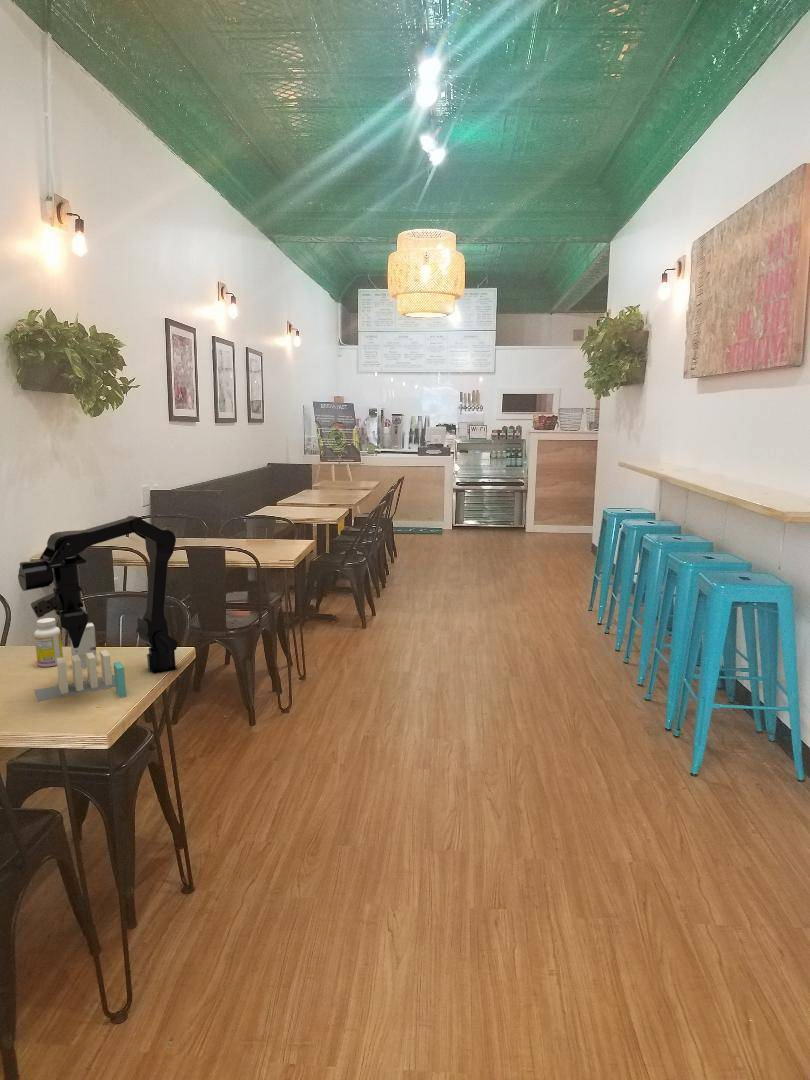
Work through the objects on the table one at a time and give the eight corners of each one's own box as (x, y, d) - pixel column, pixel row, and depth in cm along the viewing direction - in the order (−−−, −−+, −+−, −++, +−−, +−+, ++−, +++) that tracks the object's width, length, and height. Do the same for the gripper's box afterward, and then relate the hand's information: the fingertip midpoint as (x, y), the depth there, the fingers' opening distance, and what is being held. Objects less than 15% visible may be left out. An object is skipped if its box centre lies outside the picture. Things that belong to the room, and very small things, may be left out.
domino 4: (108, 678, 192) (106, 650, 191) (112, 684, 188) (110, 655, 187) (102, 679, 191) (100, 651, 190) (105, 685, 187) (103, 656, 186)
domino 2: (80, 683, 189) (77, 654, 187) (83, 690, 184) (80, 660, 183) (73, 685, 188) (71, 655, 186) (76, 691, 184) (74, 661, 182)
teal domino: (122, 691, 185) (120, 661, 183) (126, 697, 180) (124, 667, 179) (115, 692, 184) (113, 662, 182) (119, 699, 180) (117, 668, 178)
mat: (116, 676, 195) (116, 674, 195) (122, 686, 188) (122, 685, 187) (33, 691, 185) (33, 689, 185) (37, 703, 177) (37, 701, 177)
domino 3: (94, 681, 190) (92, 652, 189) (98, 687, 186) (95, 657, 185) (88, 682, 190) (85, 653, 188) (91, 688, 185) (88, 658, 184)
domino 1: (65, 686, 187) (63, 657, 185) (68, 692, 183) (65, 662, 181) (59, 687, 186) (56, 658, 184) (61, 694, 182) (58, 664, 180)
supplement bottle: (54, 658, 209) (50, 615, 207) (68, 662, 206) (64, 618, 204) (32, 665, 204) (28, 621, 201) (46, 669, 200) (42, 624, 198)
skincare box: (74, 671, 199) (70, 629, 197) (71, 666, 203) (68, 625, 200) (98, 666, 202) (95, 625, 200) (95, 662, 206) (91, 621, 204)
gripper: (28, 579, 183) (36, 638, 186) (33, 596, 167) (41, 660, 170) (76, 573, 188) (82, 630, 191) (85, 589, 173) (92, 651, 176)
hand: (74, 642), depth 182 cm, fingers open, 9 cm apart
